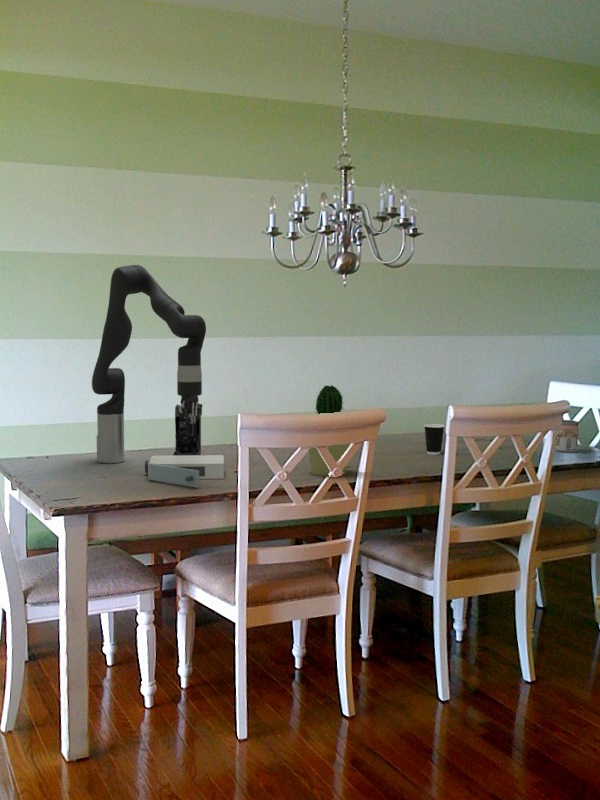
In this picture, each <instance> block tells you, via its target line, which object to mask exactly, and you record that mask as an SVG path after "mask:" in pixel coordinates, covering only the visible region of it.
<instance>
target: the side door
mask: <svg viewBox="0 0 600 800" xmlns="http://www.w3.org/2000/svg"><path fill="white" fill-rule="evenodd" d="M148 481H157V482H161V483H168V484H174V485H180V486H186V487H187V486H188V487H190V488H191V487H193V488H199V487H200V479H199V470H192V469H185V468H179V467H172V466H165V465H158V464H153V463H149V480H148Z"/></svg>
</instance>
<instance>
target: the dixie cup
mask: <svg viewBox="0 0 600 800" xmlns="http://www.w3.org/2000/svg"><path fill="white" fill-rule="evenodd" d="M423 426H424V433H425V434H424V436H425V447H426V452H427V453H426V454H428V455H433V456H436V455H441V452H442V446H443V439H444V430H445V427H446V425H445V424H441V423H440V424H439V423H426V424H424V425H423Z"/></svg>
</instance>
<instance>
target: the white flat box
mask: <svg viewBox="0 0 600 800" xmlns="http://www.w3.org/2000/svg"><path fill="white" fill-rule="evenodd" d="M224 460H225V456H224V455H223V454H221V455H220V454H218V455H217V454H215V455H214V454H213V455H212V454H211V455H209V454H207V455H206V454H205V455H203V454H201V455H185V456H176V455H152V456H151V458H150V460H145V461H144V473H145V474H147V475H148V476H147V480H148V481H150V480H149V463H153V464H158V465H165V466H172V467H179V468H185V469H192V470H199V480H224V479H225V477H224V476H225V475H224V473H225V467H224V466H225V465H224Z"/></svg>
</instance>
